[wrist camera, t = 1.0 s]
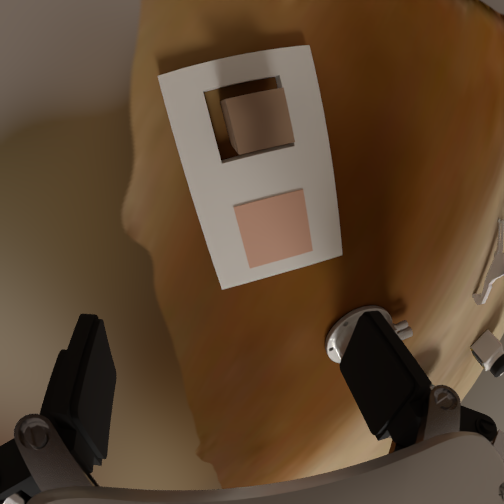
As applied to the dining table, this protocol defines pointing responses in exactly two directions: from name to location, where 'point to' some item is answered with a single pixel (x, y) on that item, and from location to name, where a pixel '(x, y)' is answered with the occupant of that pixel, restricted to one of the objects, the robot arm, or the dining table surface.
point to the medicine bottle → (489, 353)
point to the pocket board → (258, 170)
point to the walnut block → (258, 120)
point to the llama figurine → (493, 269)
